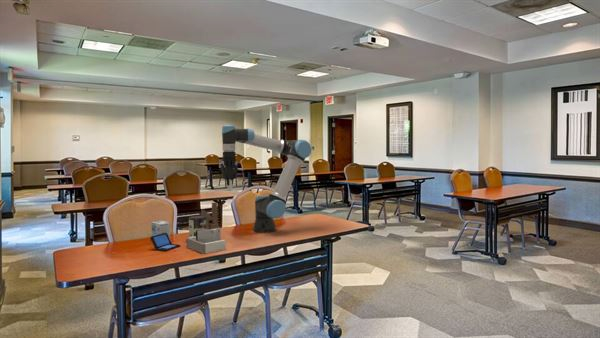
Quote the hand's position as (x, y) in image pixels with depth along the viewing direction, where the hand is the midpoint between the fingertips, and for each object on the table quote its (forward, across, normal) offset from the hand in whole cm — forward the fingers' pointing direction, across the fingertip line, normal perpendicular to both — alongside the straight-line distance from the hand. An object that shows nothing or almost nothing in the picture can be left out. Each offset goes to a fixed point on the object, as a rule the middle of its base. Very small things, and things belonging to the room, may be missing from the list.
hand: (229, 190), depth 231 cm
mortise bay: (+29, -20, -8) cm, 37 cm away
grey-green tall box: (+30, -15, +13) cm, 36 cm away
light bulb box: (+30, -31, +30) cm, 52 cm away
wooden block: (+30, +5, +36) cm, 47 cm away
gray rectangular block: (+30, -18, -7) cm, 36 cm away
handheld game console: (+30, -37, +8) cm, 48 cm away
